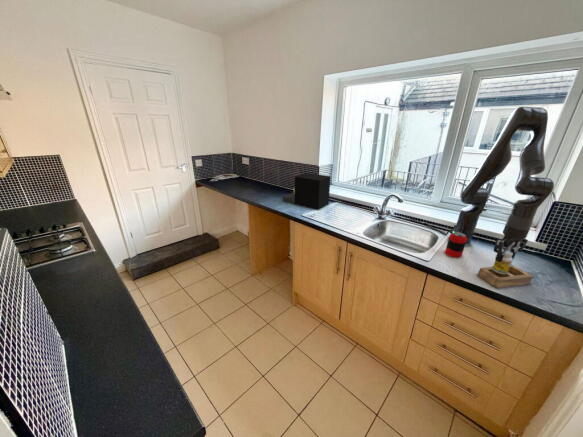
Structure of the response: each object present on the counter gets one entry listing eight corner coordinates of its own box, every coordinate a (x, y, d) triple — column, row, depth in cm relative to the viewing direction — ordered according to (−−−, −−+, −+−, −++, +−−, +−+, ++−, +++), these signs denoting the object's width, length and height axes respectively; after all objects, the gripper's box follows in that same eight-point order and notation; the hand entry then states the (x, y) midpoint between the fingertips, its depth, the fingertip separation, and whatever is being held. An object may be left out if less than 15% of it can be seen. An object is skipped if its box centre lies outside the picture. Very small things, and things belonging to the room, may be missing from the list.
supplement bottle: (509, 272, 107) (518, 254, 103) (502, 275, 105) (510, 256, 101) (496, 266, 111) (503, 248, 108) (489, 269, 109) (496, 250, 106)
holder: (477, 275, 114) (480, 267, 112) (508, 271, 116) (511, 264, 115) (496, 288, 105) (500, 280, 103) (529, 283, 108) (533, 276, 106)
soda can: (447, 256, 128) (453, 236, 123) (443, 249, 135) (448, 230, 130) (463, 258, 126) (470, 238, 122) (458, 251, 133) (464, 232, 128)
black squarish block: (294, 196, 222) (294, 170, 213) (328, 204, 204) (330, 176, 195) (282, 201, 209) (282, 174, 200) (318, 210, 190) (319, 180, 181)
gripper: (522, 220, 104) (508, 254, 111) (494, 222, 102) (482, 257, 108) (542, 227, 97) (526, 263, 104) (512, 230, 95) (498, 267, 101)
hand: (503, 260), depth 106 cm, fingers closed on supplement bottle, 5 cm apart
